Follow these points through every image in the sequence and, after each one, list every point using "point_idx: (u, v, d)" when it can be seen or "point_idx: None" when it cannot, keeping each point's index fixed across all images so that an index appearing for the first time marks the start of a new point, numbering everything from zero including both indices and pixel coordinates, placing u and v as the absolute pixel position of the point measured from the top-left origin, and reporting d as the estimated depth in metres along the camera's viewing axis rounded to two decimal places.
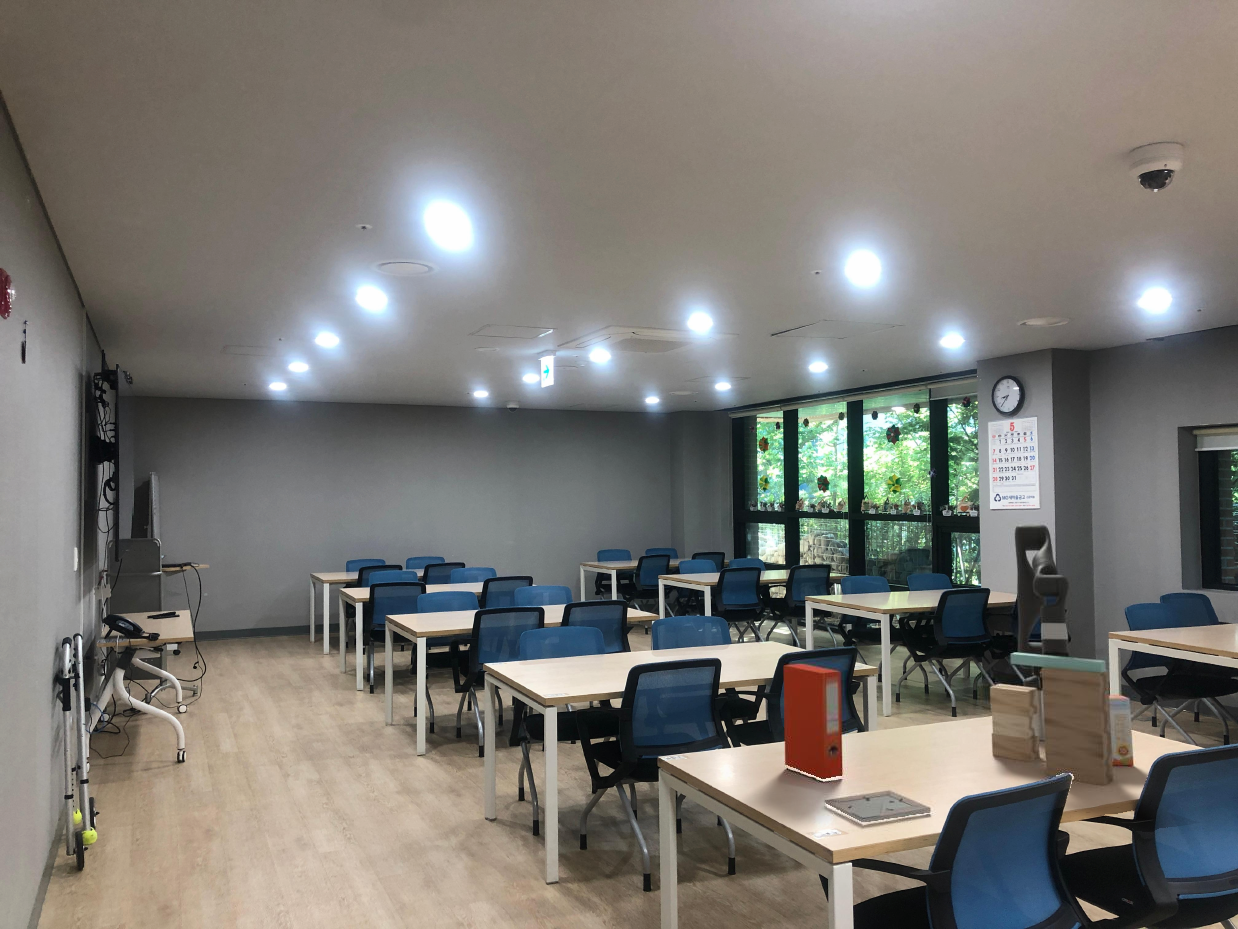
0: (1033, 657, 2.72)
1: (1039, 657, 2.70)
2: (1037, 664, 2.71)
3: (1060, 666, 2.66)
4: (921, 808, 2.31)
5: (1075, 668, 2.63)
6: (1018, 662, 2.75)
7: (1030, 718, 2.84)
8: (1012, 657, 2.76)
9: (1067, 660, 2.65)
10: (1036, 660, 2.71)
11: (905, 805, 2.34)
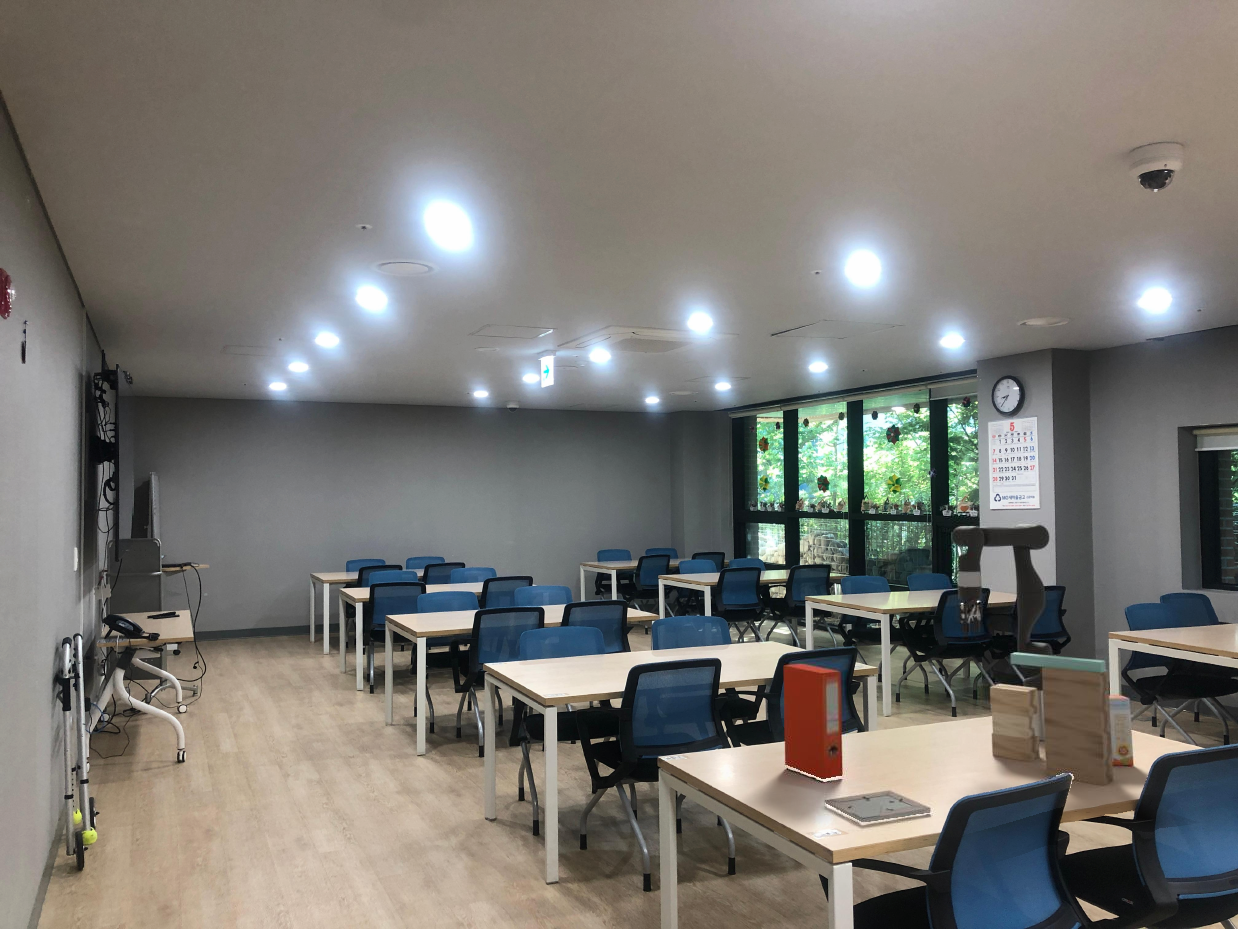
0: (1033, 657, 2.72)
1: (1039, 657, 2.70)
2: (1037, 664, 2.71)
3: (1060, 666, 2.66)
4: (921, 808, 2.31)
5: (1075, 668, 2.63)
6: (1018, 662, 2.75)
7: (1030, 718, 2.84)
8: (1012, 657, 2.76)
9: (1067, 660, 2.65)
10: (1036, 660, 2.71)
11: (905, 805, 2.34)
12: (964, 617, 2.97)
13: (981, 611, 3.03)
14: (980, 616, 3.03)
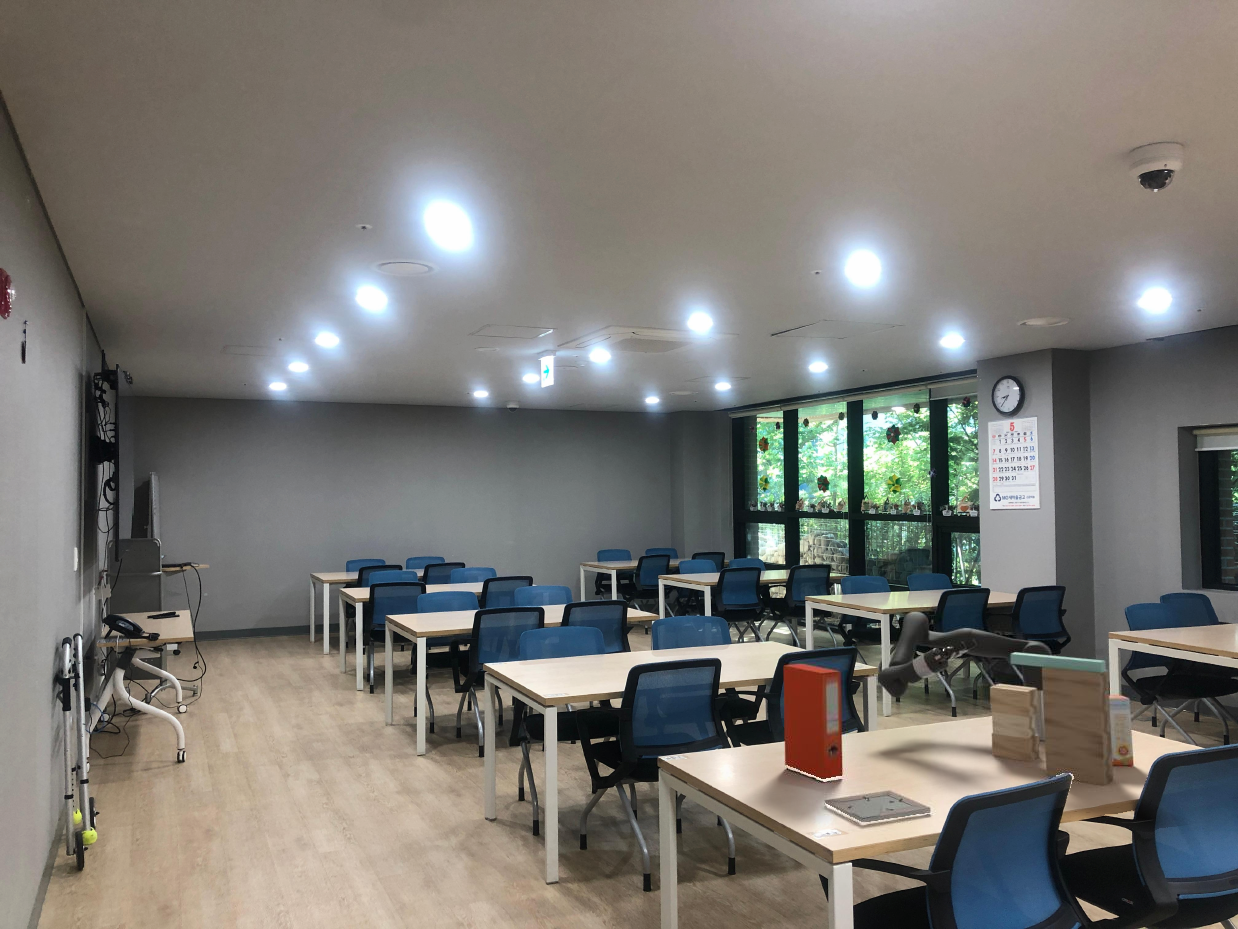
0: (1033, 657, 2.72)
1: (1039, 657, 2.70)
2: (1037, 664, 2.71)
3: (1060, 666, 2.66)
4: (921, 808, 2.31)
5: (1075, 668, 2.63)
6: (1018, 662, 2.75)
7: (1030, 718, 2.84)
8: (1012, 657, 2.76)
9: (1067, 660, 2.65)
10: (1036, 660, 2.71)
11: (905, 805, 2.34)
12: None
13: None
14: None
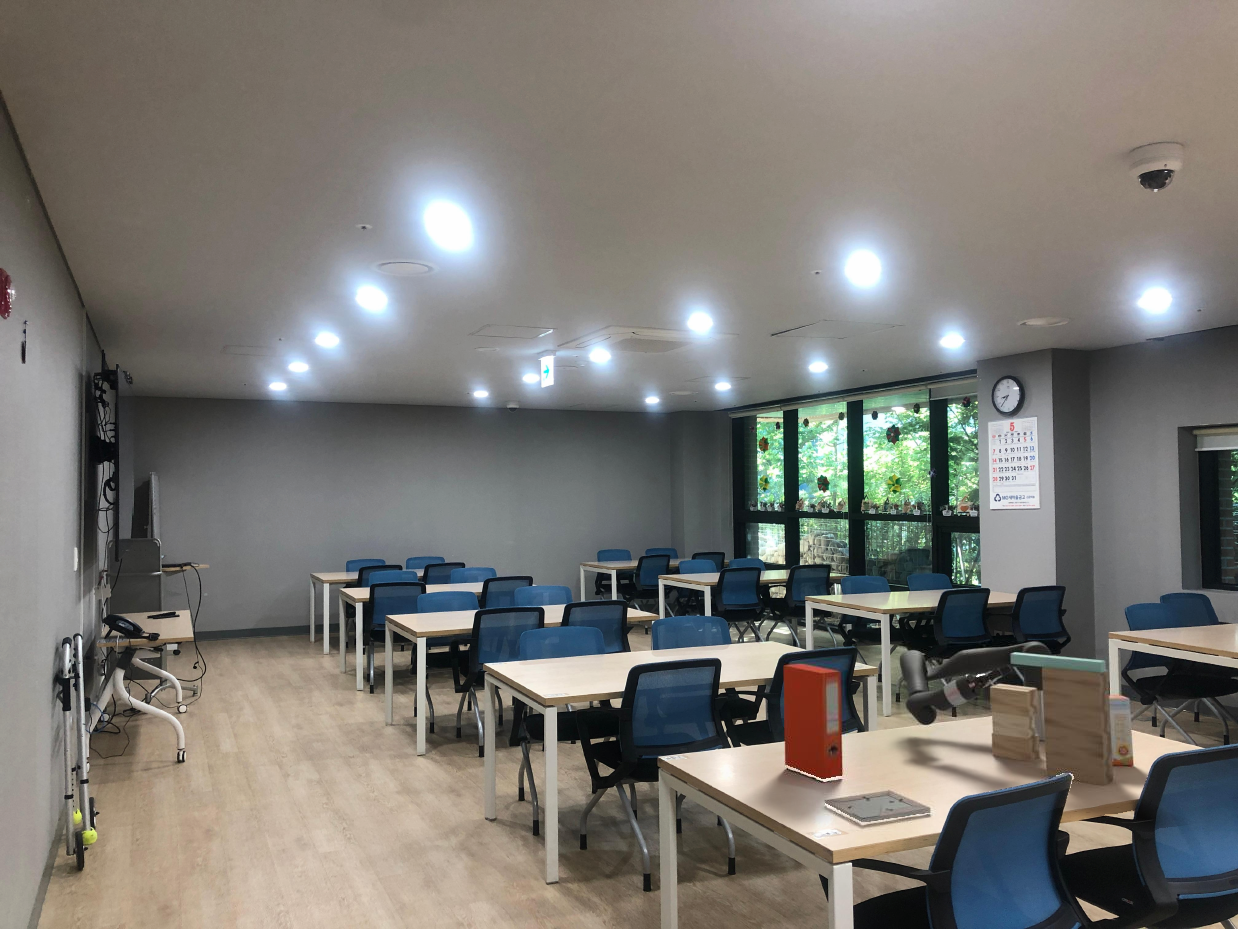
0: (1033, 657, 2.72)
1: (1039, 657, 2.70)
2: (1037, 664, 2.71)
3: (1060, 666, 2.66)
4: (921, 808, 2.31)
5: (1075, 668, 2.63)
6: (1018, 662, 2.75)
7: (1030, 718, 2.84)
8: (1012, 657, 2.76)
9: (1067, 660, 2.65)
10: (1036, 660, 2.71)
11: (905, 805, 2.34)
12: None
13: None
14: None
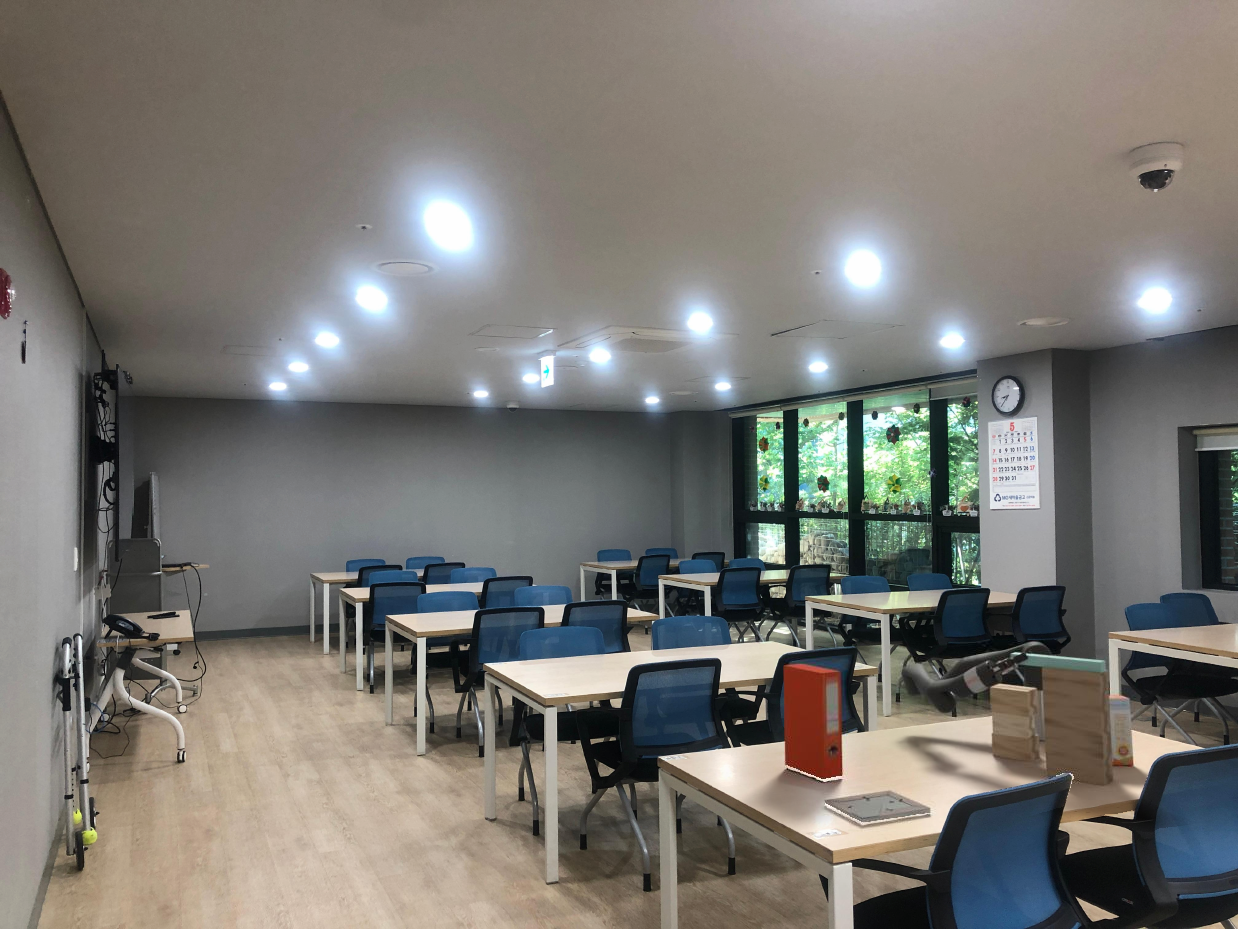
0: (1033, 657, 2.72)
1: (1039, 657, 2.70)
2: (1037, 664, 2.71)
3: (1060, 666, 2.66)
4: (921, 808, 2.31)
5: (1075, 668, 2.63)
6: None
7: (1030, 718, 2.84)
8: None
9: (1067, 660, 2.65)
10: (1036, 660, 2.71)
11: (905, 805, 2.34)
12: None
13: None
14: None
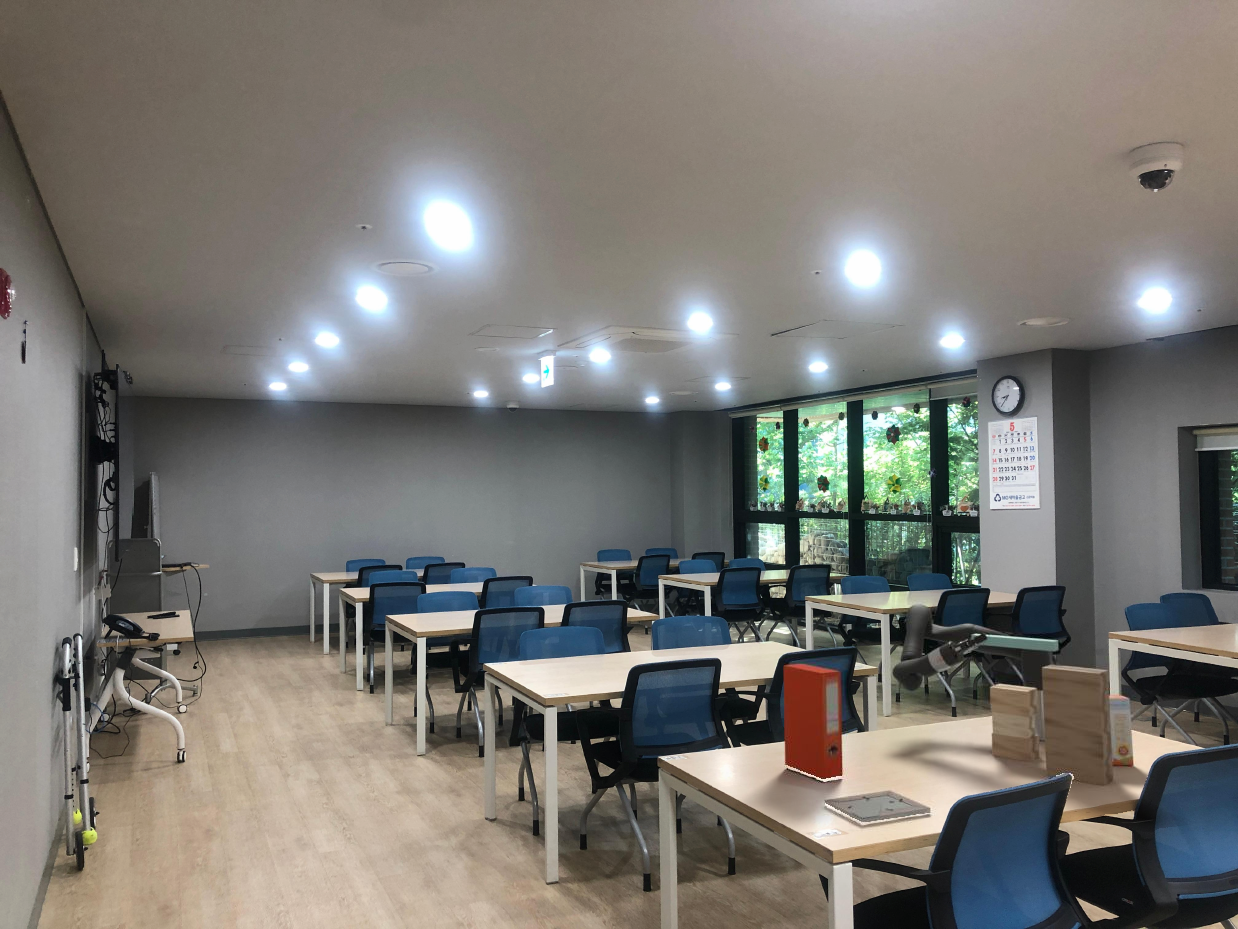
0: (992, 638, 2.91)
1: (997, 638, 2.89)
2: (996, 644, 2.90)
3: (1016, 646, 2.85)
4: (921, 808, 2.31)
5: (1030, 647, 2.82)
6: None
7: (1030, 718, 2.84)
8: None
9: (1023, 640, 2.84)
10: (995, 640, 2.90)
11: (905, 805, 2.34)
12: None
13: None
14: None
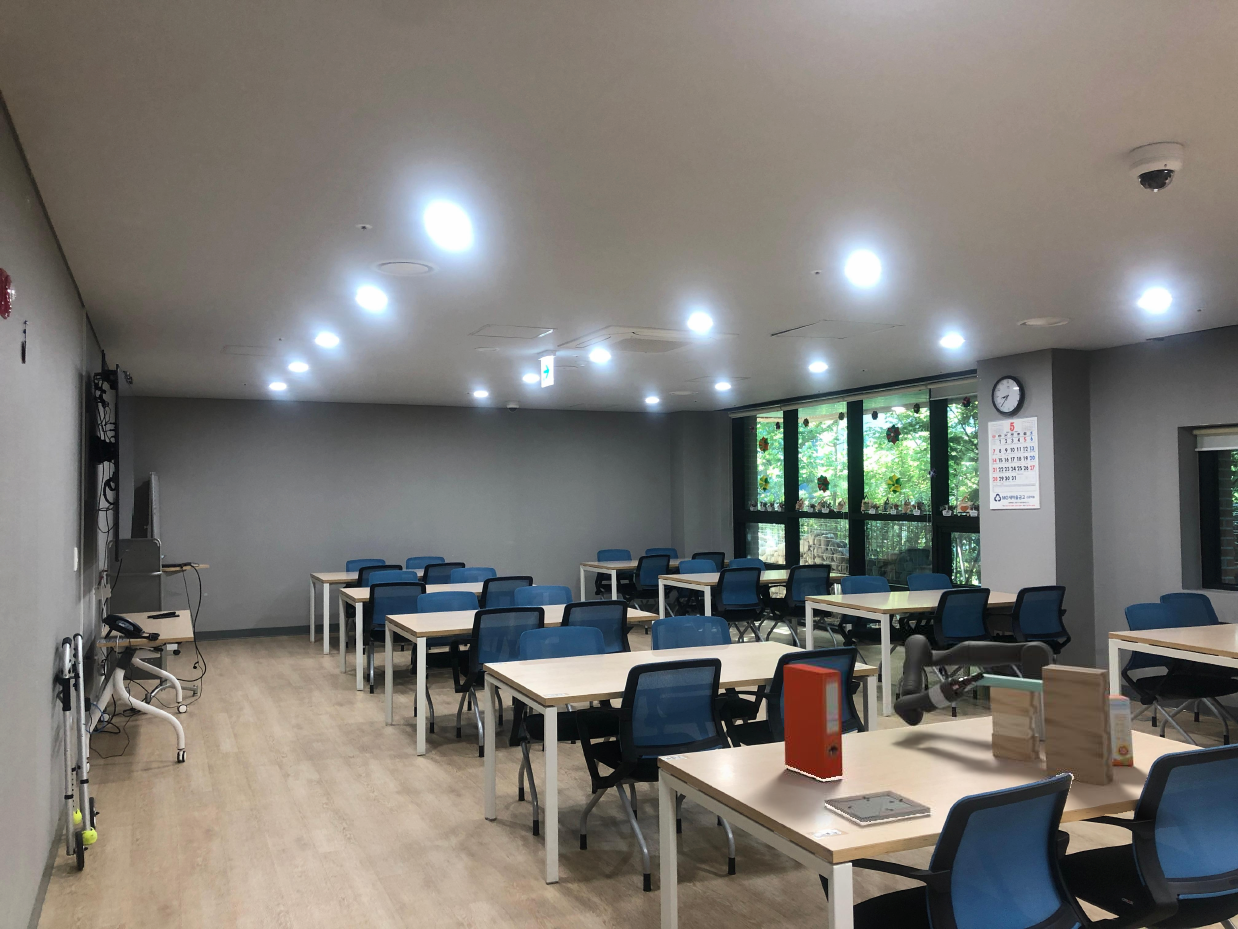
0: (992, 678, 2.92)
1: (997, 678, 2.91)
2: (995, 685, 2.91)
3: (1016, 687, 2.87)
4: (921, 808, 2.31)
5: (1029, 689, 2.83)
6: (978, 682, 2.95)
7: (1030, 718, 2.84)
8: None
9: (1022, 681, 2.85)
10: (994, 681, 2.91)
11: (905, 805, 2.34)
12: None
13: None
14: None
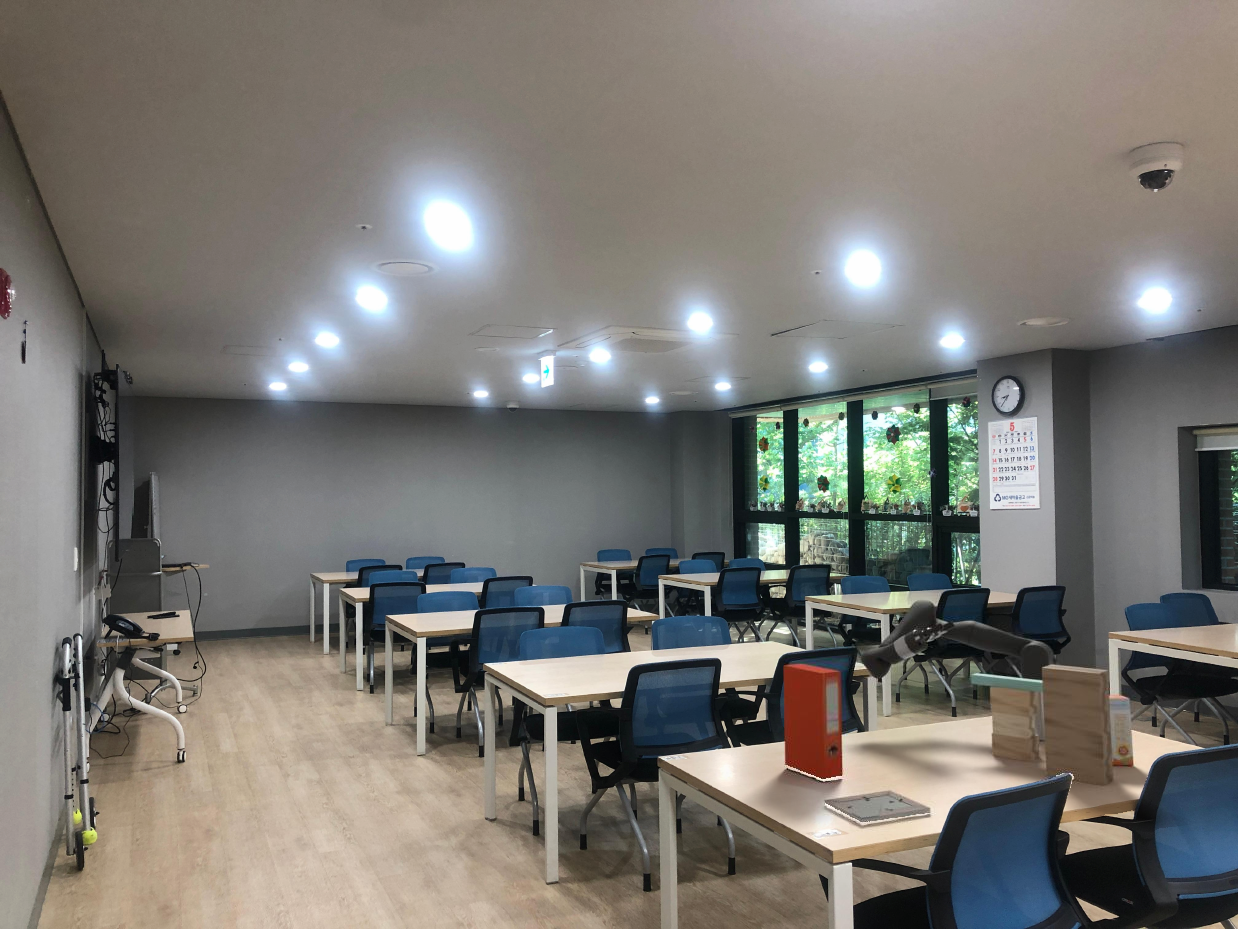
0: (992, 678, 2.92)
1: (997, 678, 2.91)
2: (995, 685, 2.91)
3: (1016, 687, 2.87)
4: (921, 808, 2.31)
5: (1029, 689, 2.83)
6: (978, 682, 2.95)
7: (1030, 718, 2.84)
8: (973, 678, 2.96)
9: (1022, 681, 2.85)
10: (994, 681, 2.91)
11: (905, 805, 2.34)
12: None
13: None
14: None
